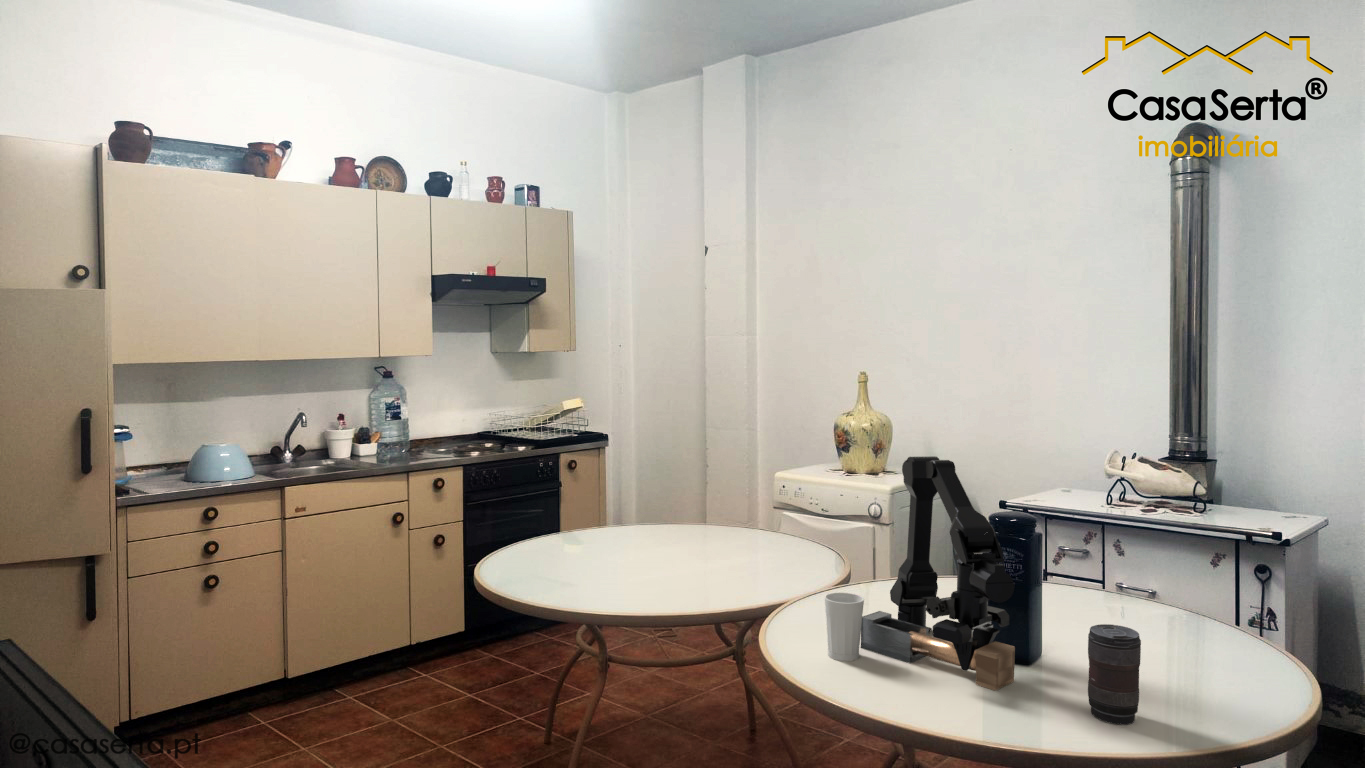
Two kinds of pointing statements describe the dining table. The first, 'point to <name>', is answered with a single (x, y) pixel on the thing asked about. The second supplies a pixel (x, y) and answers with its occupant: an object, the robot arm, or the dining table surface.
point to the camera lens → (1114, 673)
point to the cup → (843, 625)
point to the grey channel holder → (890, 636)
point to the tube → (938, 649)
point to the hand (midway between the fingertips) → (970, 667)
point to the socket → (995, 665)
